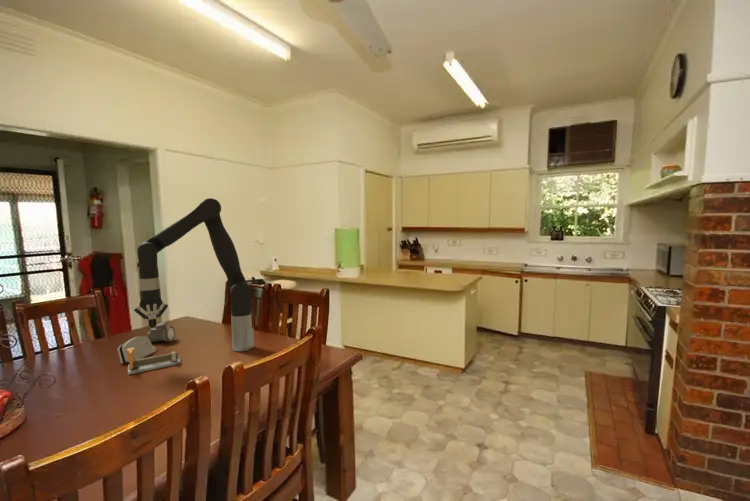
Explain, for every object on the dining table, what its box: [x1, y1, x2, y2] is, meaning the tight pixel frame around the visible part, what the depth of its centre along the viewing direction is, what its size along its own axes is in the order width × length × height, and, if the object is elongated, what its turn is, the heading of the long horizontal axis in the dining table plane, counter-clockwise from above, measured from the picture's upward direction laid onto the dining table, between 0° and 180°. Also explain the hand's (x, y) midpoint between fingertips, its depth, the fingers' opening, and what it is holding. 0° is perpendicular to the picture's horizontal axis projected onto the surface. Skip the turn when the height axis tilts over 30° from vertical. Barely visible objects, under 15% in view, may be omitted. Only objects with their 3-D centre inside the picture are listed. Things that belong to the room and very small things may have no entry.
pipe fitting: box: [146, 321, 176, 343], centre depth 182 cm, size 12×8×10 cm
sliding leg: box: [127, 348, 135, 369], centre depth 146 cm, size 2×7×7 cm, turn 35°
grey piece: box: [127, 351, 182, 376], centre depth 150 cm, size 19×9×5 cm, turn 125°
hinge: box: [116, 335, 157, 364], centre depth 161 cm, size 17×5×10 cm, turn 177°
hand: (152, 327), depth 151 cm, fingers closed
